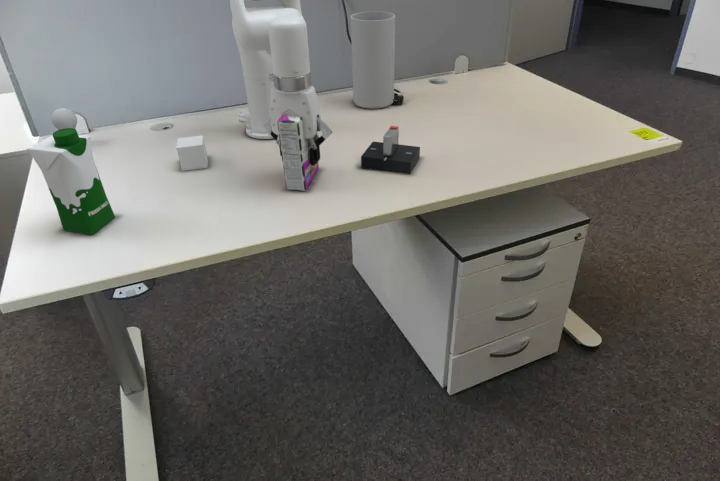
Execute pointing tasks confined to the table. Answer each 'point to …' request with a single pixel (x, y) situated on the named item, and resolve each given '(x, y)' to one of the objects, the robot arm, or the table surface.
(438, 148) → the table surface
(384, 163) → the panel
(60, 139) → the milk carton
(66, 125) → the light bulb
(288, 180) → the candy bar box
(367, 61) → the cylinder vase
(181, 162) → the white cube
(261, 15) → the robot arm
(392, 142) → the tap handle
